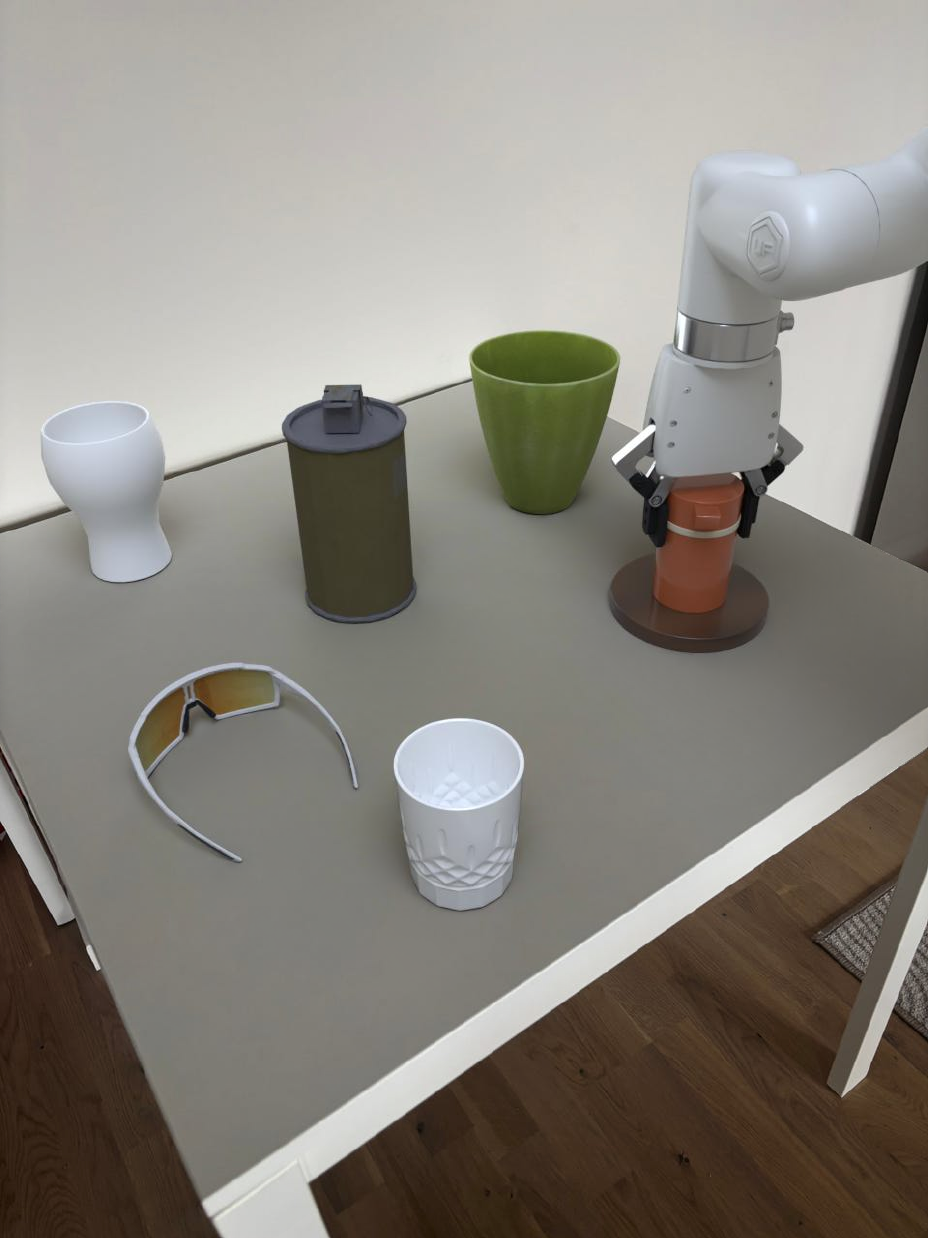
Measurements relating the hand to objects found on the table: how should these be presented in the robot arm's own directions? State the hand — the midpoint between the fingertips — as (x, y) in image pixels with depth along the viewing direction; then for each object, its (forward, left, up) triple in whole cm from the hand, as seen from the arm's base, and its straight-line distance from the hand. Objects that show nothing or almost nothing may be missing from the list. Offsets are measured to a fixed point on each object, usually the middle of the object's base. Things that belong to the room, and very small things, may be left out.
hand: (696, 533), depth 84 cm
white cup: (-17, +32, -8) cm, 37 cm away
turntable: (0, 0, -8) cm, 8 cm away
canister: (+17, +25, -8) cm, 31 cm away
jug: (0, 0, -6) cm, 6 cm away
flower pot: (+24, +1, -8) cm, 25 cm away
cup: (+33, +43, -8) cm, 55 cm away
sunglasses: (-1, +42, -8) cm, 43 cm away
